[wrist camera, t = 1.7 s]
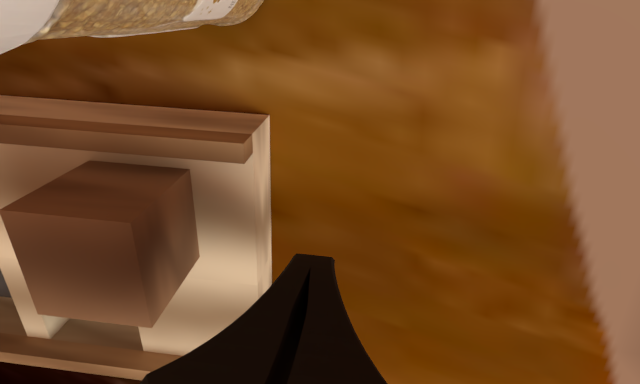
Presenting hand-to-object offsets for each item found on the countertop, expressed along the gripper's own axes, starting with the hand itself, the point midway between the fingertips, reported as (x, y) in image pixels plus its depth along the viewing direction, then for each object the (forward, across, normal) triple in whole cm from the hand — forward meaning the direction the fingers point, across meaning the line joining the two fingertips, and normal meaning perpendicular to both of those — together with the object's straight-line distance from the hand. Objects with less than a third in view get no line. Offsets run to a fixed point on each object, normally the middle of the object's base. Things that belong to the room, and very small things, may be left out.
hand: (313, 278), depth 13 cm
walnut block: (+3, +8, 0) cm, 9 cm away
